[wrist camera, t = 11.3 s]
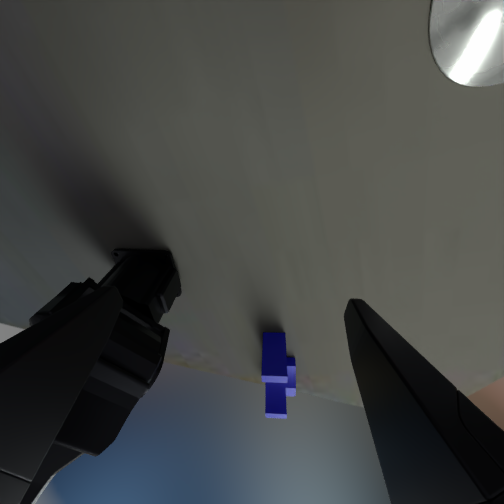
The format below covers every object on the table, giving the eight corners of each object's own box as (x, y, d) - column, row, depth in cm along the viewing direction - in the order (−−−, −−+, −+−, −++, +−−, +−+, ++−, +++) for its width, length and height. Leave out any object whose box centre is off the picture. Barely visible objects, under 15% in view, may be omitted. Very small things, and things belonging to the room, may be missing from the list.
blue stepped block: (293, 376, 37) (297, 419, 32) (266, 375, 38) (265, 417, 33) (296, 331, 30) (300, 377, 26) (263, 331, 31) (261, 375, 26)
